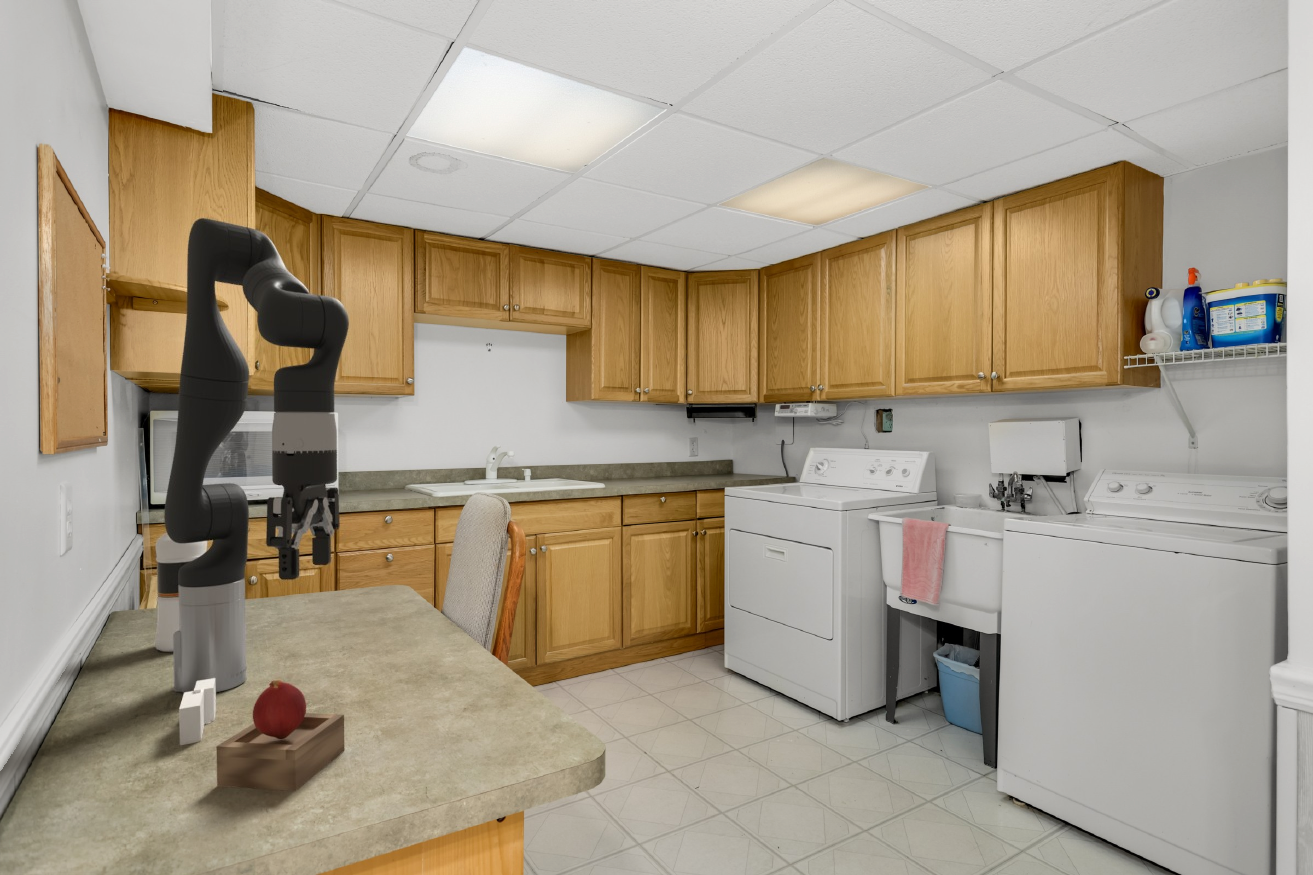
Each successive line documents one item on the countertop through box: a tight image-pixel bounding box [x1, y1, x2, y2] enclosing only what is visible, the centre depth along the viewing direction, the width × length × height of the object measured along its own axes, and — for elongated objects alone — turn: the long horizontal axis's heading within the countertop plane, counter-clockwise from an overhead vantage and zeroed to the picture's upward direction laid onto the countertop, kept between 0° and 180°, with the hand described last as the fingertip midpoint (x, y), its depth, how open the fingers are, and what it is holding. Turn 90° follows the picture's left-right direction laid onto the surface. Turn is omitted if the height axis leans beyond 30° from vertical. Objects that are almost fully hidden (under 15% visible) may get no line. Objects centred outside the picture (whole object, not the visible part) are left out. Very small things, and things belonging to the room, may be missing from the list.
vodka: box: [154, 531, 208, 653], centre depth 135 cm, size 9×9×30 cm
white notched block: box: [178, 678, 217, 746], centre depth 99 cm, size 15×11×6 cm
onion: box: [252, 678, 307, 739], centre depth 85 cm, size 6×6×8 cm
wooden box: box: [216, 712, 346, 791], centre depth 86 cm, size 10×10×5 cm
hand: (306, 571), depth 90 cm, fingers open, 8 cm apart
